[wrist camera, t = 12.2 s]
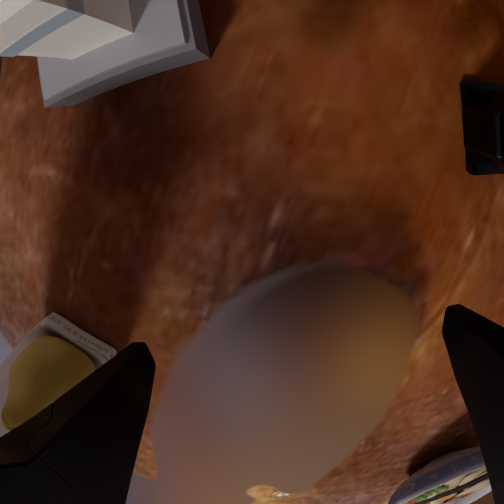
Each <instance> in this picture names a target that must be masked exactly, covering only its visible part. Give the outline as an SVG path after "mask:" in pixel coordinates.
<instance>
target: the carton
mask: <svg viewBox="0 0 504 504" xmlns="http://www.w3.org/2000/svg"><path fill="white" fill-rule="evenodd" d="M132 33H133V27H132V20H131V13H130V6H129V0H0V56H10V57H15V56H16V55H22V56H39V57H52V58H62V59H72V60H73V59H75V58H77V57H79V56H81V55H83V54H85V53H87V52H89V51H92V50H94V49H96V48H98V47H100V46H103V45H105V44H107V43H110V42H112V41H115V40H117V39H119V38H122V37H124V36H127V35H130V34H132Z"/></svg>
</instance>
